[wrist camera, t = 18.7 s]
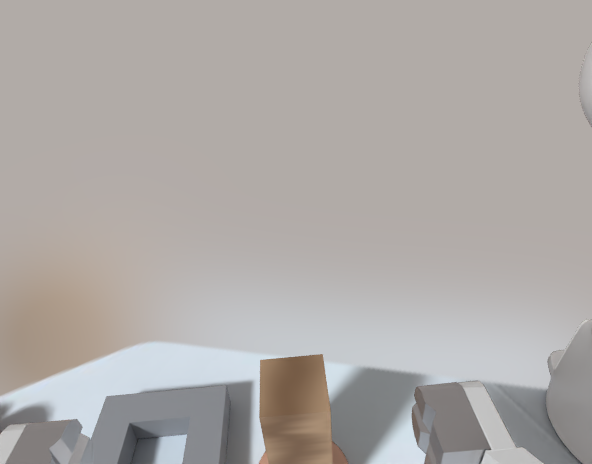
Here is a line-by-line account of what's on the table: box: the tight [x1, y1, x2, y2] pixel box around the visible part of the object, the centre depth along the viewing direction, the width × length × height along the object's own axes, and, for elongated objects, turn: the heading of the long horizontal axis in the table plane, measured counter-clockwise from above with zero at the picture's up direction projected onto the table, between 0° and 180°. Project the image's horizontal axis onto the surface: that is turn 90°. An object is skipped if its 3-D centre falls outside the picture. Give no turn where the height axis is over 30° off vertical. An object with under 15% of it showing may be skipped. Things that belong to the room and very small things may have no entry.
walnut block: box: [259, 354, 332, 464], centre depth 35 cm, size 5×5×14 cm
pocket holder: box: [91, 385, 230, 464], centre depth 40 cm, size 13×13×3 cm
